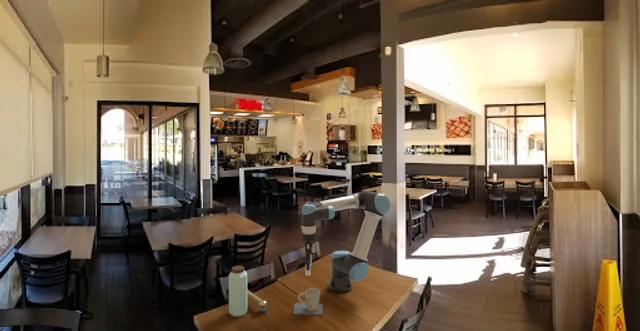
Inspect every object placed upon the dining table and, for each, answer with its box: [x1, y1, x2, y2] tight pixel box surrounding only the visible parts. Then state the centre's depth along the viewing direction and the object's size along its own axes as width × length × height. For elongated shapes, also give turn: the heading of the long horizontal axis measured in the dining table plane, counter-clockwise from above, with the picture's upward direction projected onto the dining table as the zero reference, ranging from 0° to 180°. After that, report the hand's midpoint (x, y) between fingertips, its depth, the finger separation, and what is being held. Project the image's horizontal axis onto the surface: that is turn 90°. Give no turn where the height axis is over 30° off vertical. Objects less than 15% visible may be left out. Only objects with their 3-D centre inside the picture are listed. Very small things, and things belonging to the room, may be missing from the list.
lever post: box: [258, 306, 268, 315], centre depth 189 cm, size 4×4×3 cm
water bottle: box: [228, 265, 248, 318], centre depth 187 cm, size 10×10×25 cm
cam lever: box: [247, 289, 268, 308], centre depth 197 cm, size 4×26×3 cm, turn 40°
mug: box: [297, 287, 321, 311], centre depth 193 cm, size 8×13×10 cm, turn 78°
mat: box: [292, 302, 324, 316], centre depth 193 cm, size 16×12×1 cm
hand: (308, 270), depth 192 cm, fingers open, 13 cm apart
